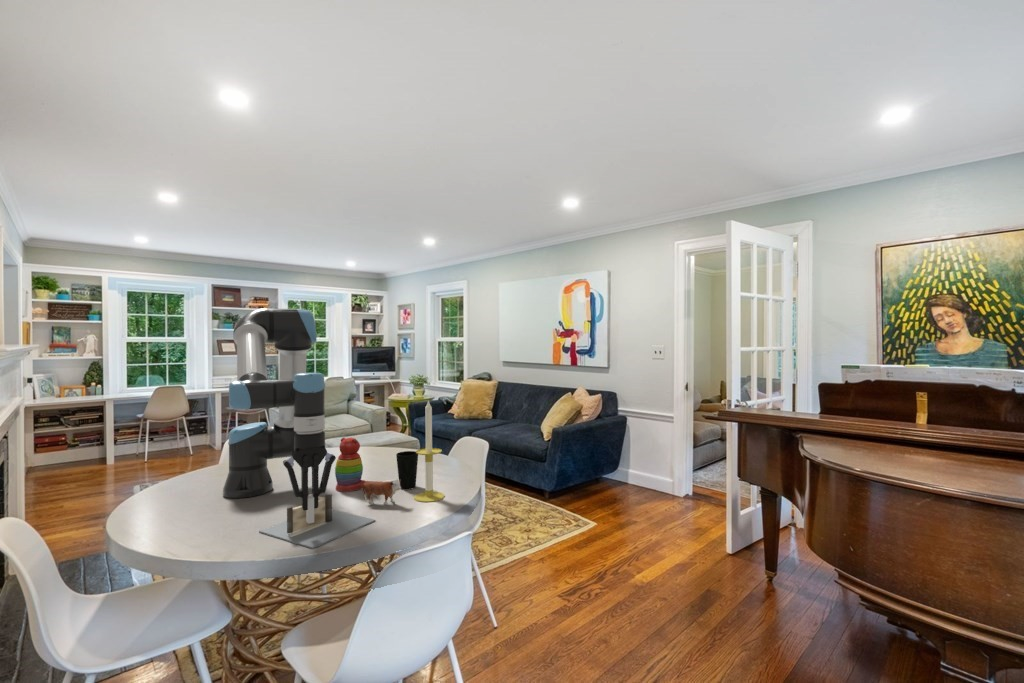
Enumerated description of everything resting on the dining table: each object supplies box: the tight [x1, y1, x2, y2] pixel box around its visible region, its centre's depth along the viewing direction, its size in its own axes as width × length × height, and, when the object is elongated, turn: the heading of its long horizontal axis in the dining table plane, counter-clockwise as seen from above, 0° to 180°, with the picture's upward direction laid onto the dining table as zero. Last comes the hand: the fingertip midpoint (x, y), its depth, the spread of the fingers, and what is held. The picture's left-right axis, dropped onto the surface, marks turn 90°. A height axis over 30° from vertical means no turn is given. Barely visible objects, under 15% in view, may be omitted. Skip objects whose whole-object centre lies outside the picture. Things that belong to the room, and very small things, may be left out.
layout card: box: [258, 508, 376, 550], centre depth 132 cm, size 22×21×1 cm
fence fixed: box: [308, 490, 333, 522], centre depth 138 cm, size 11×2×7 cm, turn 60°
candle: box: [413, 399, 445, 503], centre depth 157 cm, size 10×10×32 cm
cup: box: [395, 450, 419, 490], centre depth 168 cm, size 8×8×12 cm
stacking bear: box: [334, 437, 366, 493], centre depth 168 cm, size 11×10×18 cm
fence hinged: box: [286, 499, 325, 533], centre depth 130 cm, size 11×1×7 cm, turn 144°
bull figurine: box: [362, 478, 402, 506], centre depth 151 cm, size 4×13×8 cm, turn 78°
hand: (310, 521), depth 124 cm, fingers closed
